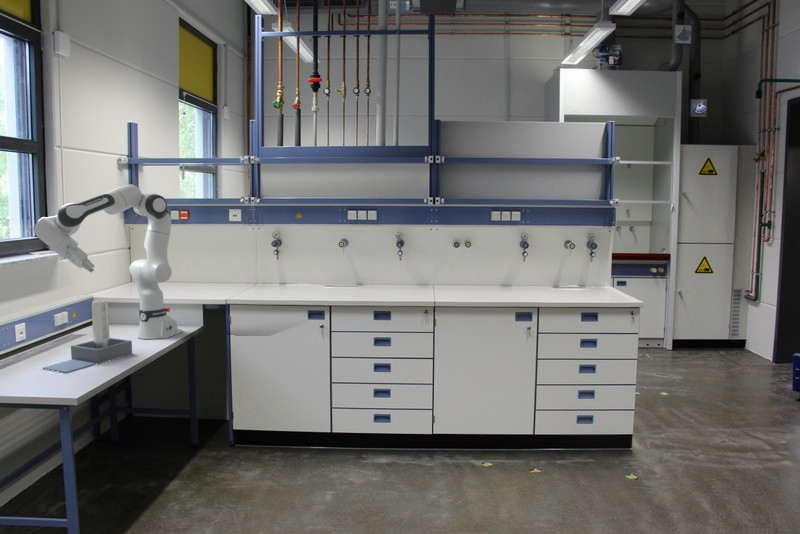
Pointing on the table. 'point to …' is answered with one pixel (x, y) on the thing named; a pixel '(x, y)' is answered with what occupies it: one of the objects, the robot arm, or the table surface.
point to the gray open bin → (101, 351)
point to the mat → (69, 366)
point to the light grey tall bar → (100, 324)
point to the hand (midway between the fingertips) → (93, 269)
